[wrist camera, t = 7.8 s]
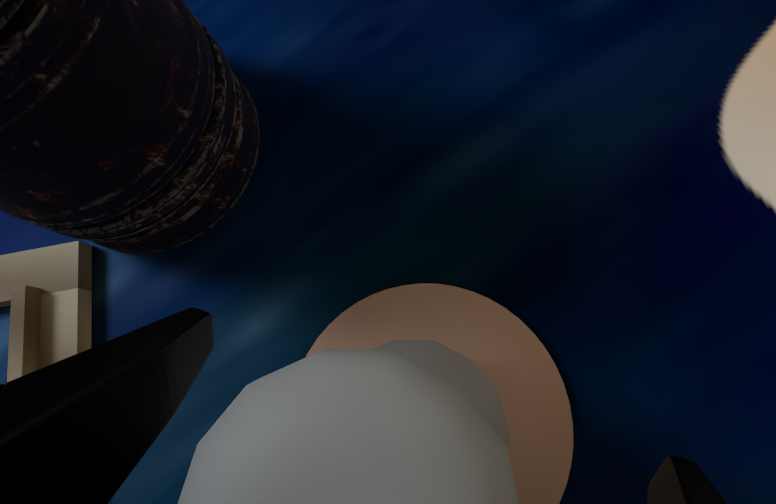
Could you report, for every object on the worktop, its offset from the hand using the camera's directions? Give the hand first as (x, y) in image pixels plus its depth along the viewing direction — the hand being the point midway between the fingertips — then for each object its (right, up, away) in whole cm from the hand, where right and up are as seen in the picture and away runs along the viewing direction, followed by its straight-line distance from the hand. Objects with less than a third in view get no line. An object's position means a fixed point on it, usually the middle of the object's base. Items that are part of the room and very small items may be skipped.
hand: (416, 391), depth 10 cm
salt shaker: (+1, -3, +8) cm, 9 cm away
